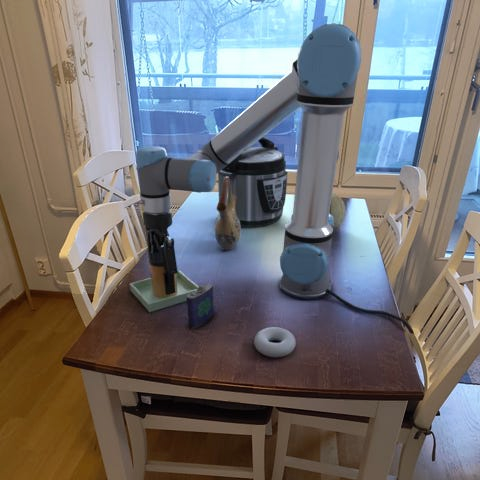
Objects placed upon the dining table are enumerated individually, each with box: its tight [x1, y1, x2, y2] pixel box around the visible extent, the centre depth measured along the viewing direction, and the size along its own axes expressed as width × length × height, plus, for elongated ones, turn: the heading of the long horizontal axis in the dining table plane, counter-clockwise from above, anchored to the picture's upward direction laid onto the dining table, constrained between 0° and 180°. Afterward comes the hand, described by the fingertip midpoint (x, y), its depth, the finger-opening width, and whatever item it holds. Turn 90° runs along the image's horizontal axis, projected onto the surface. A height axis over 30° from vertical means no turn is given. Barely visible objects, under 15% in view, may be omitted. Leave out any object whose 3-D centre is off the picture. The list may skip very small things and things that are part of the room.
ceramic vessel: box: [214, 177, 242, 251], centre depth 146 cm, size 16×9×25 cm, turn 166°
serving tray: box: [129, 269, 199, 313], centre depth 124 cm, size 14×16×2 cm
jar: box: [147, 251, 178, 298], centre depth 121 cm, size 8×8×12 cm
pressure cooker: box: [217, 136, 288, 227], centre depth 170 cm, size 30×28×32 cm
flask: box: [186, 283, 215, 329], centre depth 109 cm, size 9×3×11 cm, turn 144°
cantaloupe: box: [329, 192, 347, 231], centre depth 163 cm, size 15×15×15 cm
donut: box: [253, 326, 296, 358], centre depth 101 cm, size 10×4×10 cm
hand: (164, 287), depth 123 cm, fingers closed on jar, 7 cm apart
